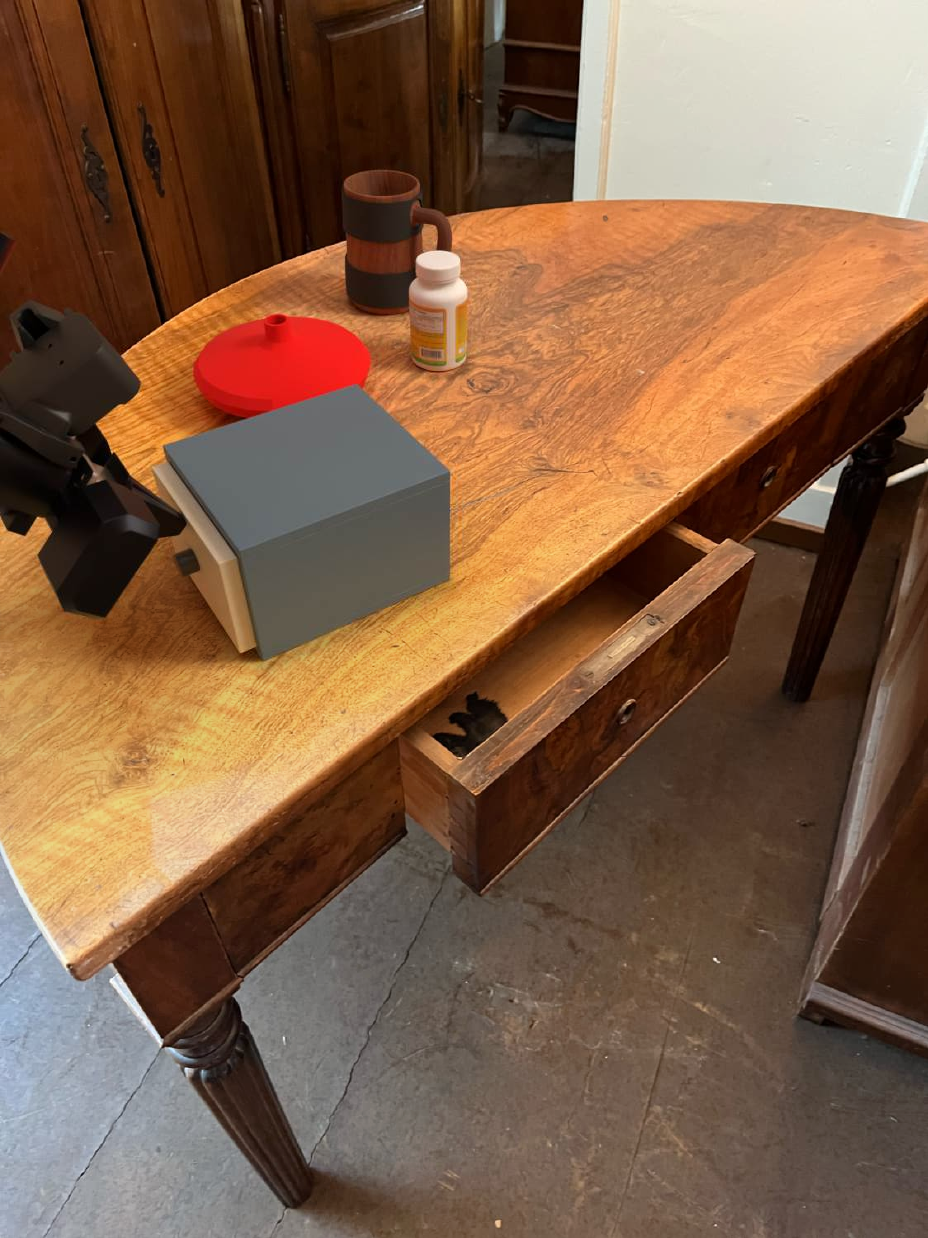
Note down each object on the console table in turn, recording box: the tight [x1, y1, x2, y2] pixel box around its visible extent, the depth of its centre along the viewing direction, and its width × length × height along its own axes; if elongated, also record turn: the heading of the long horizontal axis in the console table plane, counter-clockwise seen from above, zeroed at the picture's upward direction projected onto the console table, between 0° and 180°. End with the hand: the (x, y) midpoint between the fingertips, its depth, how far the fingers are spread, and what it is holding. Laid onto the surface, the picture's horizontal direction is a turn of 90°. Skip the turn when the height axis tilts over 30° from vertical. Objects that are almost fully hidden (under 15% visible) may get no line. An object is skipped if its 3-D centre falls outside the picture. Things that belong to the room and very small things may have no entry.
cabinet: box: [162, 384, 451, 662], centre depth 61 cm, size 15×13×10 cm
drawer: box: [151, 461, 257, 654], centre depth 60 cm, size 15×11×8 cm
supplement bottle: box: [409, 250, 468, 372], centre depth 83 cm, size 5×5×10 cm
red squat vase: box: [192, 313, 372, 419], centre depth 79 cm, size 16×16×7 cm
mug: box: [341, 169, 453, 315], centre depth 90 cm, size 9×12×12 cm
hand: (181, 525), depth 56 cm, fingers closed, pressing on drawer
